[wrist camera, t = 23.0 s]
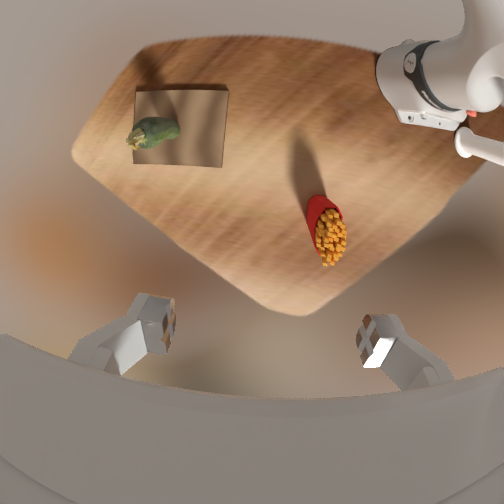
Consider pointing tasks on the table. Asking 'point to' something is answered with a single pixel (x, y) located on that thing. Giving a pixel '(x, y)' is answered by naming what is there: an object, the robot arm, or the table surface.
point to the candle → (478, 146)
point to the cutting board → (185, 126)
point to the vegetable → (152, 132)
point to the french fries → (326, 228)
